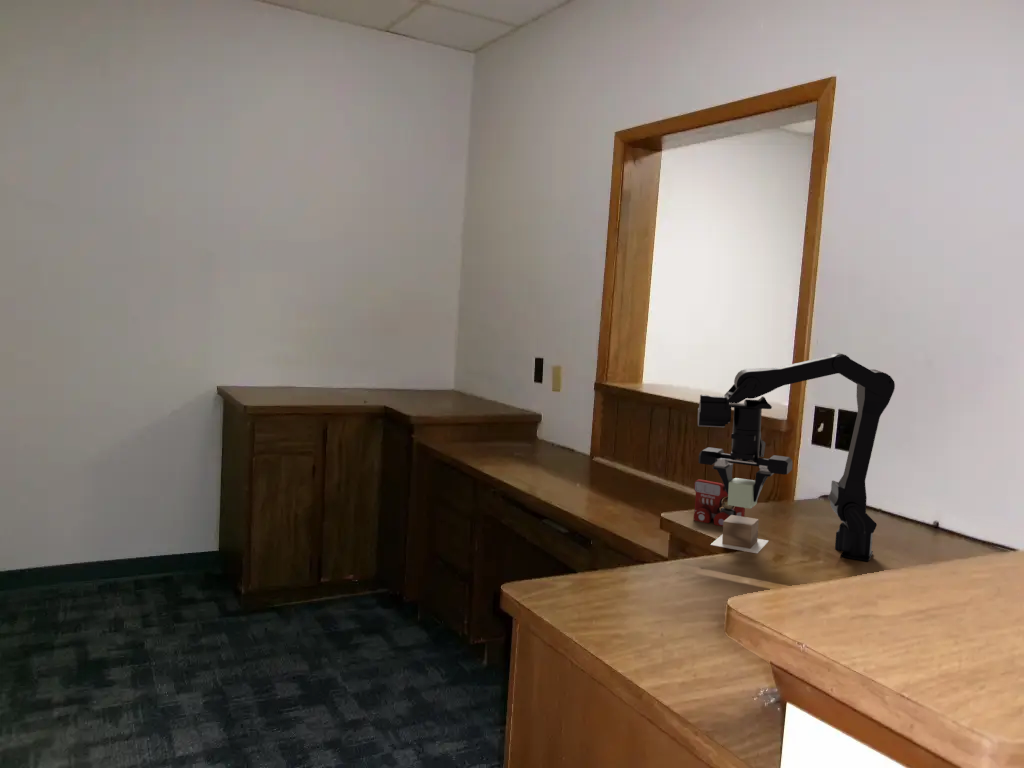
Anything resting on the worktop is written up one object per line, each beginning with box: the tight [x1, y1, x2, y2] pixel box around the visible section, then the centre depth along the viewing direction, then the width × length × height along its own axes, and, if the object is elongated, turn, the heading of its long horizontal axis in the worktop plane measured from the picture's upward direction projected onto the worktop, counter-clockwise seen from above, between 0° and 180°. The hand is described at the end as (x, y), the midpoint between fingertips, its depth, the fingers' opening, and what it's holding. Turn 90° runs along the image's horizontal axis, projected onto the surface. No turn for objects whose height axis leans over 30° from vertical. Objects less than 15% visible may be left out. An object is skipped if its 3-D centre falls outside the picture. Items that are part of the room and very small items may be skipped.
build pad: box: [710, 533, 769, 554], centre depth 174 cm, size 10×10×1 cm
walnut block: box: [722, 515, 760, 549], centre depth 173 cm, size 6×6×5 cm
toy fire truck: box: [693, 478, 746, 527], centre depth 189 cm, size 7×12×10 cm, turn 52°
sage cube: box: [728, 477, 758, 509], centre depth 172 cm, size 5×5×5 cm
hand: (742, 499), depth 172 cm, fingers closed on sage cube, 5 cm apart
